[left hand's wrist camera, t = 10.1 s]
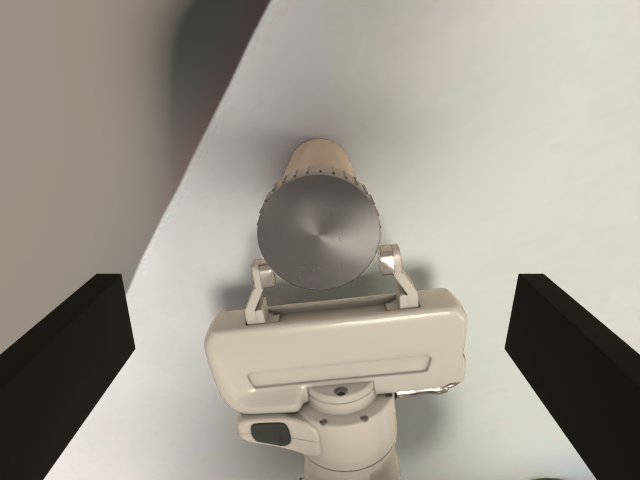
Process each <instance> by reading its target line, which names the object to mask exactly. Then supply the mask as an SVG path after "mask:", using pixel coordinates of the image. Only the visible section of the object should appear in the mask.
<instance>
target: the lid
mask: <svg viewBox="0 0 640 480" xmlns="http://www.w3.org/2000/svg"><path fill="white" fill-rule="evenodd" d="M259 213H261V214H260V217H259V221H258V223H257V225H258V230H257V234H258V235H257V236H258V242H259V247H260V250H261V253H262V255H263V257H264V259H265V261H266V262H267V264H268V265H269V266H270V268H271V269H272V270H273V271H274V272H275V273H276V274H277V275H279V276H280V277H281V278H282V279H284V280H286V281H287V282H289V283H291V284H293V285H296V286H298V287H301V288H306V289H312V290H326V289H332V288H336V287H340V286H342V285H345V284H347V283H349V282H351V281H353V280H354V279H355V278H357V277H358V276H359V275H361V274H362V273H363V272H364V271H365V270H366V269H367V267H368V266H369V265H370V263H371V262H372V260H373V259H374V257H375V255H376V252H377V249H378V246H379V242H380V228H381V226H380V222H379V218H378V216H379V213H378V211H377V209H376V207H375V203H374V201H373V199H372V196H371V194H370V195H369V194H368V192H367V190H366V187H365V185H362V184H361V183H360V182H359V181H358V180H357V178H356V177H355V176H354V177H353V176H351V175H350V174H348V173H346V170H344V171H342V170H340V169H337V168H334V166H332V167H328V166H322V164H320V166H310V167H309V165H307V167H305V168H301V169H298V170H297V169H295V171H294V172H292V173H290V174H288V175H286V174H285V175H284V177H283V179H281V180H280V181H279V182H278V183H277V182H276V183H275V185H274V187H273V189H272V191H271V192H269V193H268V195H267V197H266V199H265V201H264V204H263V206H262V208H261V210H260V212H259Z"/></svg>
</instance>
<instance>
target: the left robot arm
mask: <svg viewBox="0 0 640 480" xmlns="http://www.w3.org/2000/svg"><path fill="white" fill-rule="evenodd" d="M134 350H135V344H134V338H133V333H132V328H131V323H130V317H129V312H128V307H127V301H126V296H125V291H124V285H123V280H122V275H121V274H96V275H95V276H93V277H92V278H91V279H90V280H89V281H87V282H86V283H85V284H84V285H83V286H82V287H80V288H79V289H78V290H77V291H76V292H74V293H73V294H72V295H71V296H70V297H68V298H67V299H66V300H65V301H64V302H62V303H61V304H60V305H59V306H58V307H56V308H55V309H54V310H53V311H52V312H50V313H49V314H48V315H47V316H46V317H45V318H43V319H42V320H41V321H40V322H39V323H37V324H36V325H35V326H34V327H33V328H31V329H30V330H29V331H28V332H27V333H25V334H24V335H23V336H22V337H21V338H20V339H18V340H17V341H16V342H15V343H14V344H12V345H11V346H10V347H9V348H8V349H6V350H5V351H4V352H3V353H2V354H0V480H43V479H44V478H45V476H46V475H47V474H48V472H49V471H50V469H51V468H52V466H53V465H54V464H55V462H56V461H57V459H58V458H59V457H60V455H61V454H62V452H63V451H64V449H65V448H66V447H67V445H68V444H69V442H70V441H71V439H72V438H73V437H74V435H75V434H76V432H77V431H78V430H79V428H80V427H81V425H82V424H83V422H84V421H85V420H86V418H87V417H88V415H89V414H90V412H91V411H92V410H93V408H94V407H95V405H96V404H97V403H98V401H99V400H100V398H101V397H102V395H103V394H104V393H105V391H106V390H107V388H108V387H109V385H110V384H111V383H112V381H113V380H114V378H115V377H116V376H117V374H118V373H119V371H120V370H121V368H122V367H123V366H124V364H125V363H126V361H127V360H128V358H129V357H130V356H131V354H132V353H133V351H134ZM505 350H506V351H507V353H508V354H509V356H510V357H511V358H512V360H513V361H514V363H515V364H516V366H517V367H518V368H519V370H520V371H521V373H522V374H523V376H524V377H525V378H526V380H527V381H528V383H529V384H530V385H531V387H532V388H533V390H534V391H535V393H536V394H537V395H538V397H539V398H540V400H541V401H542V403H543V404H544V405H545V407H546V408H547V410H548V411H549V412H550V414H551V415H552V417H553V418H554V420H555V421H556V422H557V424H558V425H559V427H560V428H561V430H562V431H563V432H564V434H565V435H566V437H567V438H568V439H569V441H570V442H571V444H572V445H573V447H574V448H575V449H576V451H577V452H578V454H579V455H580V457H581V458H582V459H583V461H584V462H585V464H586V465H587V466H588V468H589V469H590V471H591V472H592V474H593V475H594V476H595V478H596V479H597V480H640V354H638V353H637V352H636V351H635V350H634V349H632V348H631V347H630V346H629V345H628V344H626V343H625V342H624V341H623V340H622V339H621V338H619V337H618V336H617V335H616V334H615V333H613V332H612V331H611V330H610V329H609V328H607V327H606V326H605V325H604V324H603V323H601V322H600V321H599V320H598V319H597V318H595V317H594V316H593V315H592V314H591V313H590V312H588V311H587V310H586V309H585V308H584V307H582V306H581V305H580V304H579V303H578V302H576V301H575V300H574V299H573V298H572V297H570V296H569V295H568V294H567V293H566V292H564V291H563V290H562V289H561V288H560V287H559V286H557V285H556V284H555V283H554V282H553V281H551V280H550V279H549V278H548V277H547V276H545V275H544V274H519V275H518V280H517V285H516V291H515V296H514V301H513V307H512V312H511V317H510V323H509V328H508V333H507V338H506V344H505Z"/></svg>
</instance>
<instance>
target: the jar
mask: <svg viewBox="0 0 640 480" xmlns="http://www.w3.org/2000/svg"><path fill="white" fill-rule="evenodd" d="M320 164H322V166H328V167H332V166H334V168H337V169H340V170H342V171H344V170H346V173H348V174H350V175H351V176H353V177H354V176H355V174H354V172H353V169H352V167H351V164H350V161H349V159H348V156H347V154H346V153H345V151H344V150H343V149H342V148H341V147H340V146H339V145H338V144H336V143H335V142H333V141H330V140H327V139H321V138H319V139H312V140H309V141H306V142H304V143H303V144H301V145H300V146H299V147H298V148H297V149H296V150H295V151H294V153H293V155H292V156H291V159H290V161H289V164H288V166H287V169H286V171H285V173H284V175H285V174H286V175H288V174H290V173H292V172H294V171H295V169H297V170H298V169H301V168H305V167H307V165H309V167H310V166H320ZM283 177H284V176H283ZM282 179H283V178H282Z"/></svg>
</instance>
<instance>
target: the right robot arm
mask: <svg viewBox="0 0 640 480" xmlns="http://www.w3.org/2000/svg"><path fill="white" fill-rule="evenodd" d="M378 254H379V257H378V262H379V268H380V269H381V274H382V275H389V274H393V275H394V277H395V278H396V280H397V281H398V282H397V283H395V293H391V294H381V295H372V296H362V297H353V298H344V299H334V300H325V301H315V302H306V303H296V304H287V305H277V306H268V304H267V300H266V297H260V296H261V294H262V291H263V289H264V288H268V287H274V286H275V280H276V277H277V276H276V273H275V272H274V271H273V270H272V269H271V268H270V266H269V265H268V264H267V262H266V261H265V259H256V260H254V261H253V264H252V275H253V280H254V287H253V290H252V292H251V295H250V297H249V300H248V303H247V306H246V309H240V310H230V311H222V312H220V313H218V315H217V316H216V317H215V319H214V320H213V322H212V323H211V325H210V327H209V329H208V331H207V334H206V337H205V342H204V347H205V352H206V356H207V360H208V363H209V366H210V369H211V372H212V375H213V378H214V380H215V383H216V385H217V387H218V390H219V392H220V394H221V396H222V398H223V399H224V401H225V402H226V404H227V405H228V406H230V407H231V408H232V409H234V410H235V411H237V412H238V421H237V430H238V434H239V436H240V438H241V439H243V440H245V441H247V442H252V443H258V444H265V445H271V446H276V447H281V448H285V449H289V450H293V451H296V452H299V453H302V454H304V456H305V463H304V476H305V477H304V478H300V479H299V480H400V466H399V459H398V456H397V452H396V450H395V448H394V447H395V444H396V439H397V421H396V407H395V399H396V398H405V397H414V396H417V395H418V396H419V395H423V394H443V393H446V392H448V388H451V387H454V386H456V385H457V384H459V383H460V382H462V381H463V379H464V377H465V356H464V353H463V351H464V345H465V338H466V328H467V316H466V313H465V311H464V308H463V307H462V305H461V303H460V302H459V300H458V299H457V298H456V297H455V296H454V295H453V294H452V293H451V292H450V291H448V290H447V289H445V288H438V289H429V290H419V291H417V290H416V288H415V286H414V284H413V282H412V280H411V279H410V277H409V276H408V275H407V273H406V272H405V271H404V269H403V268H402V267H401V254H400V249H399V247H398V245H397V244H391V245H382V246H378Z"/></svg>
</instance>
